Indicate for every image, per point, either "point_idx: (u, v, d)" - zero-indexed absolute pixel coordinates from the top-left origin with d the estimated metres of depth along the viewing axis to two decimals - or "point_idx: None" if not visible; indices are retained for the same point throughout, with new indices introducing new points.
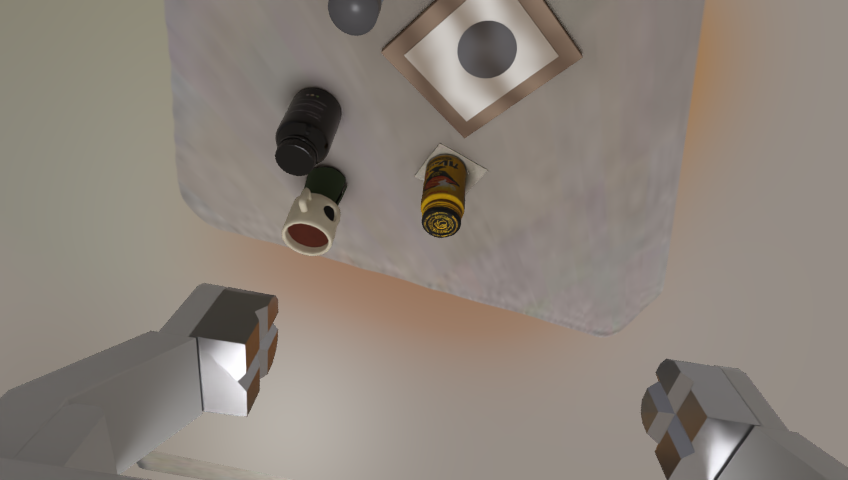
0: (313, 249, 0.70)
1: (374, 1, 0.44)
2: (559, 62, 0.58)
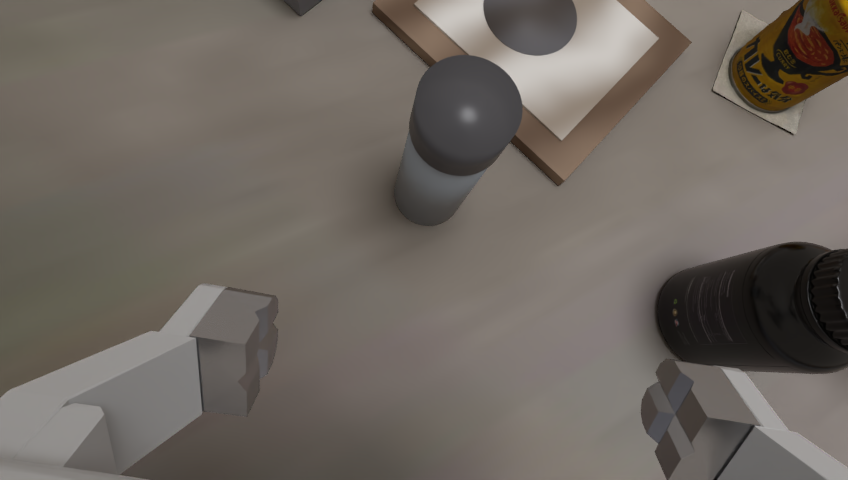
0: None
1: (445, 58, 0.21)
2: None
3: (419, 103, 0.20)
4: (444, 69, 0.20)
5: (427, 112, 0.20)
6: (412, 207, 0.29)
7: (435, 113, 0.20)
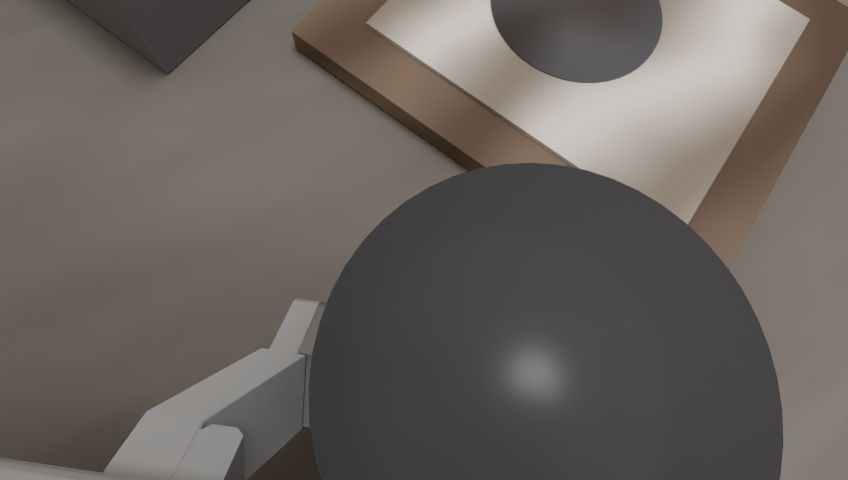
0: None
1: (419, 193, 0.05)
2: None
3: (325, 429, 0.04)
4: (421, 242, 0.05)
5: (366, 470, 0.04)
6: None
7: (404, 466, 0.04)
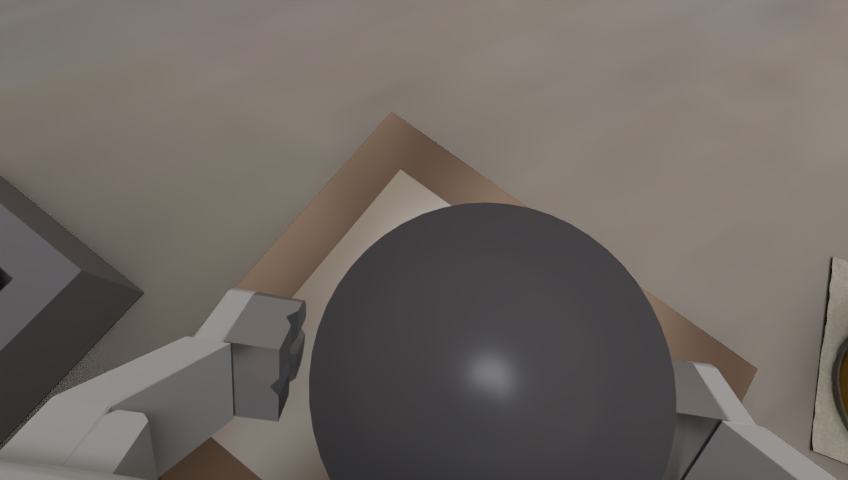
0: None
1: (395, 228, 0.06)
2: (418, 162, 0.20)
3: (322, 411, 0.06)
4: (396, 266, 0.06)
5: (352, 441, 0.06)
6: None
7: (381, 439, 0.06)
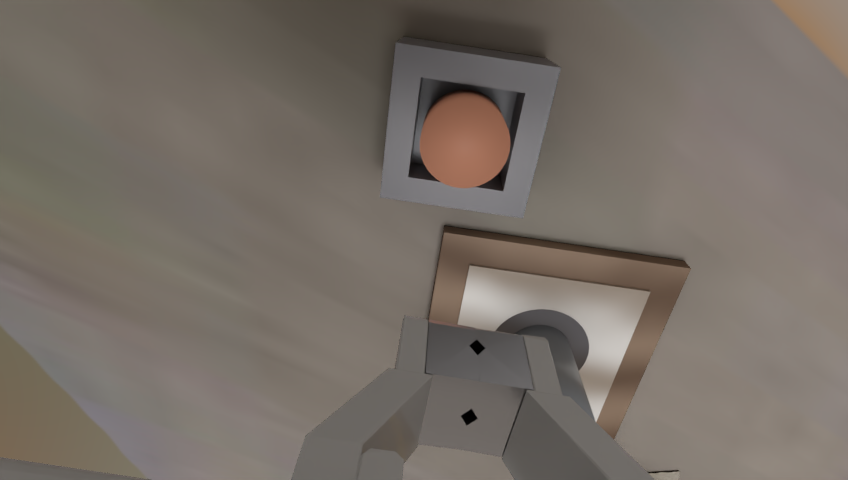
0: None
1: None
2: (659, 296, 0.32)
3: None
4: None
5: None
6: None
7: None
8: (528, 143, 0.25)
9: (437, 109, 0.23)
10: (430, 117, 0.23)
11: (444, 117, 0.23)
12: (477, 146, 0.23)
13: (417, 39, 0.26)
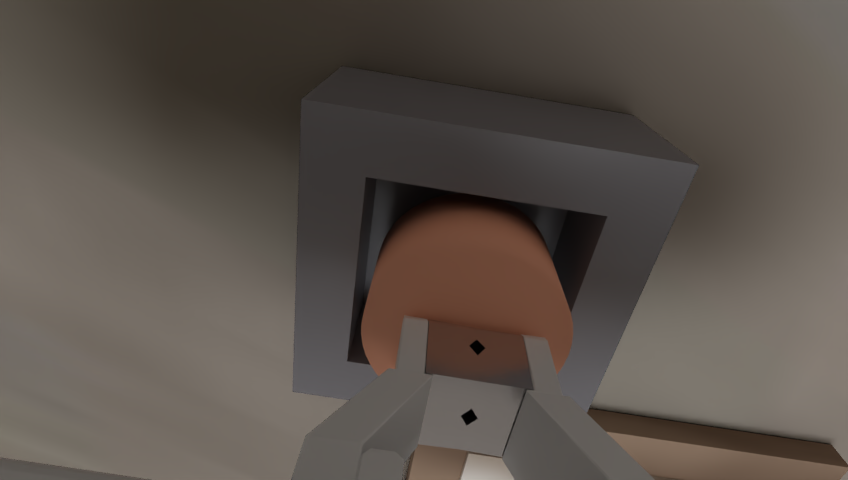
0: None
1: None
2: None
3: None
4: None
5: None
6: None
7: None
8: (603, 311, 0.11)
9: (401, 266, 0.09)
10: (384, 282, 0.10)
11: (417, 283, 0.09)
12: None
13: (369, 74, 0.12)
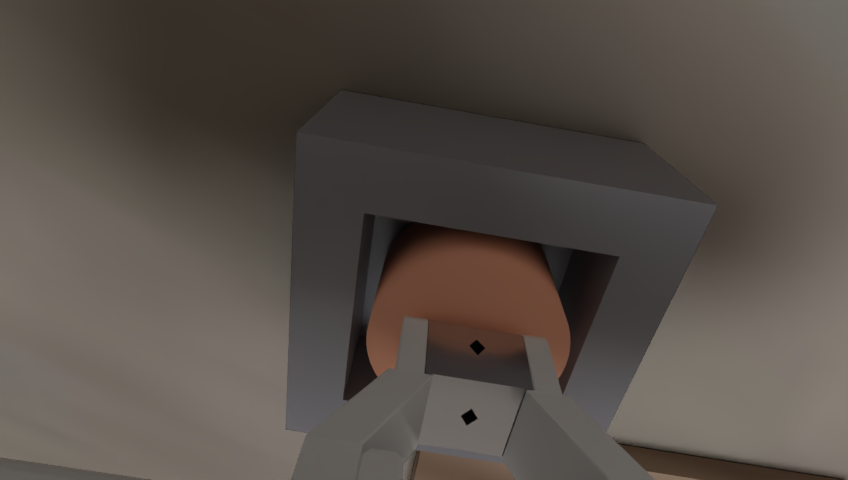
0: None
1: None
2: None
3: None
4: None
5: None
6: None
7: None
8: (613, 353, 0.11)
9: (405, 278, 0.10)
10: (389, 293, 0.10)
11: (421, 295, 0.10)
12: None
13: (369, 99, 0.12)
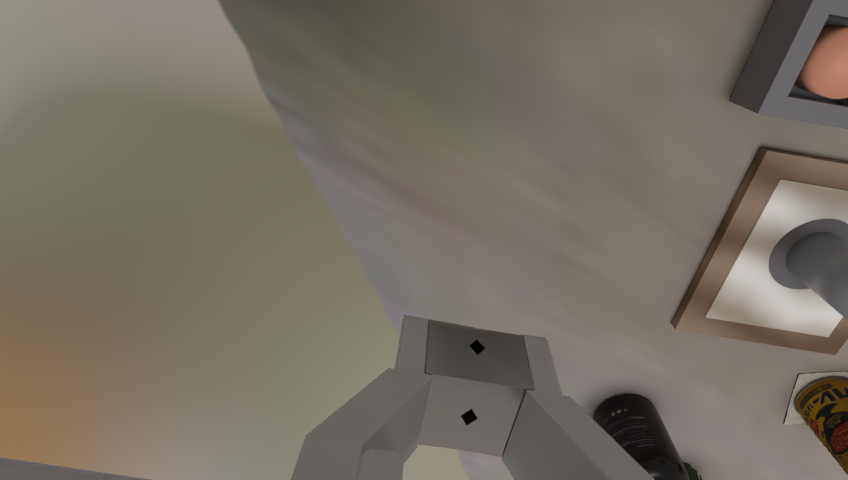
0: None
1: None
2: None
3: None
4: None
5: None
6: (805, 268, 0.39)
7: None
8: None
9: (839, 35, 0.31)
10: (832, 42, 0.31)
11: (843, 42, 0.31)
12: None
13: None
